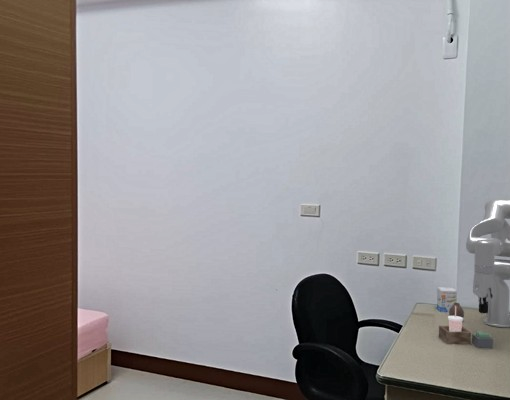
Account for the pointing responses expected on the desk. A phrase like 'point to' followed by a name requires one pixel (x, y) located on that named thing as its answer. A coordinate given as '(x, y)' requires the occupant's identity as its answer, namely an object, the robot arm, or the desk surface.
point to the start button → (482, 334)
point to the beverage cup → (455, 323)
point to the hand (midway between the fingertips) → (483, 312)
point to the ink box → (446, 298)
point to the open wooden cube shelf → (454, 336)
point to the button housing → (482, 342)
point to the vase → (458, 310)
